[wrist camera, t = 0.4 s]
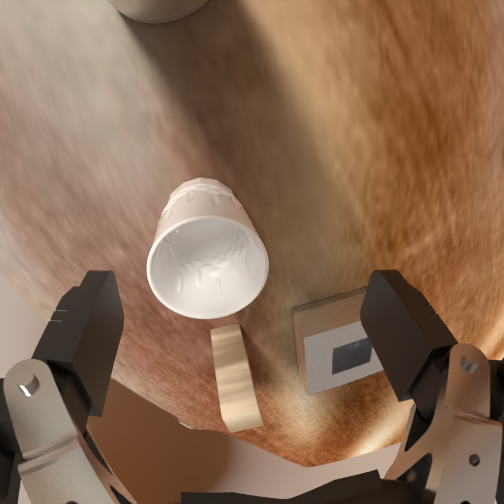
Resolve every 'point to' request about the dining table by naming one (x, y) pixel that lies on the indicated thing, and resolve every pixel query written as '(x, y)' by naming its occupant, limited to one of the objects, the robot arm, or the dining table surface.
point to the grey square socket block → (333, 342)
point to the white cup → (206, 253)
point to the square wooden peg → (234, 379)
